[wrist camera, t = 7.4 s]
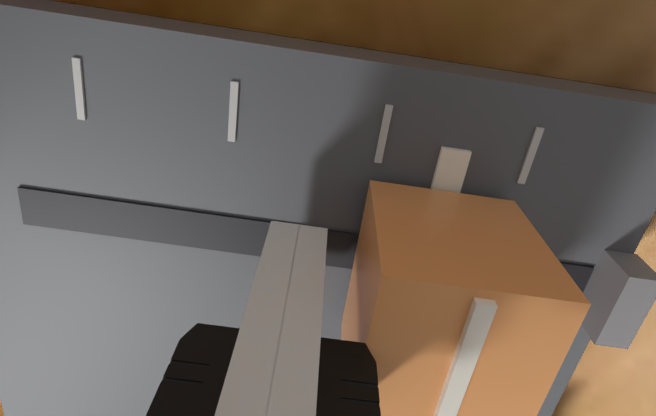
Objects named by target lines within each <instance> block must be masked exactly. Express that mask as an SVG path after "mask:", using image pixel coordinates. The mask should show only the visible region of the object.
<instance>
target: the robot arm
mask: <svg viewBox="0 0 656 416" xmlns="http://www.w3.org/2000/svg"><path fill="white" fill-rule="evenodd" d="M327 232H328V228H322V227H314V226H307V225H300V224H292V223H285V222H278V221H271V223H270V226H269V230H268V233H267V237H266V240H265V244H264V247H263V250H262V254H261V257H260V261H259V264H258V268H257V271H256V275H255V278H254V281H253V285H252V288H251V292H250V295H249V299H248V302H247V306H246V309H245V312H244V316H243V319H242V323H241V326H240V328H233V327H225V326H218V325H210V324H202V323H197V324H196V325H195V326H194V327H193V328H191V329H190V330H189V331H188V332H187V333H186V334H185V335H184V336H183V337H182V338H180V340H179V342H178V344H177V347H176V349H175V351H174V353H173V356H172V358H171V361H170V364H169V365H168V367H167V369H166V371H165V374H164V376H163V380H162V381H161V383H160V385H159V387H158V389H157V392H156V394H155V396H154V398H153V401H152V403H151V405H150V407H149V410H148V412H147V414H146V416H381V411H380V407H379V403H380V399H379V388H378V375H377V363H376V361H375V359H374V357H373V356H372V354H371V352H370V350H369V349H368V347H367V345H366V343H362V342H354V341H346V340H338V339H331V338H323V337H321V326H322V311H323V295H324V279H325V263H326V248H327Z"/></svg>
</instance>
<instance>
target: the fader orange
mask: <svg viewBox="0 0 656 416" xmlns="http://www.w3.org/2000/svg"><path fill="white" fill-rule="evenodd" d="M590 306H591V303H590V302H589V301H588V299H587V298H586V297H585V295H584V294H583V293H582V291H581V290H580V288H579V287H578V286H577V284H576V283H575V282H574V280H573V279H572V278H571V276H570V275H569V274H568V272H567V271H566V270H565V268H564V267H563V266H562V264H561V263H560V261H559V260H558V259H557V257H556V256H555V255H554V253H553V252H552V251H551V249H550V248H549V247H548V245H547V244H546V243H545V241H544V240H543V239H542V237H541V236H540V234H539V233H538V232H537V230H536V229H535V228H534V226H533V225H532V224H531V222H530V221H529V220H528V218H527V217H526V216H525V214H524V213H523V212H522V210H521V209H520V207H519V206H518V205H517V203H516V202H515V201H512V200H505V199H498V198H491V197H484V196H477V195H470V194H463V193H456V192H449V191H442V190H435V189H428V188H421V187H414V186H408V185H401V184H394V183H387V182H380V181H373V180H370V183H369V188H368V193H367V198H366V203H365V208H364V213H363V218H362V223H361V228H360V233H359V238H358V243H357V248H356V253H355V258H354V263H353V268H352V273H351V278H350V283H349V288H348V293H347V298H346V303H345V308H344V313H343V319H342V324H341V340H346V341H354V342H362V343H366V345H367V347H368V349H369V350H370V352H371V354H372V356H373V357H374V359H375V361H376V363H377V375H378V388H379V399H380V403H379V407H380V411H381V416H537V414H538V412H539V410H540V408H541V406H542V404H543V402H544V400H545V398H546V396H547V394H548V392H549V390H550V388H551V386H552V384H553V382H554V380H555V377H556V375H557V373H558V371H559V369H560V367H561V365H562V363H563V361H564V359H565V357H566V355H567V353H568V351H569V349H570V347H571V345H572V343H573V341H574V339H575V336H576V334H577V332H578V330H579V328H580V326H581V324H582V322H583V320H584V318H585V316H586V314H587V312H588V310H589V308H590Z"/></svg>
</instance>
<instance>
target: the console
mask: <svg viewBox="0 0 656 416" xmlns="http://www.w3.org/2000/svg"><path fill="white" fill-rule="evenodd" d="M370 180H373V181H380V182H387V183H394V184H401V185H408V186H414V187H421V188H428V189H435V190H442V191H449V192H456V193H463V194H470V195H477V196H484V197H491V198H498V199H505V200H512V201H515V202H516V203H517V205H518V206H519V207H520V209H521V210H522V212H523V213H524V214H525V216H526V217H527V218H528V220H529V221H530V222H531V224H532V225H533V226H534V228H535V229H536V230H537V232H538V233H539V234H540V236H541V237H542V239H543V240H544V241H545V243H546V244H547V245H548V247H549V248H550V249H551V251H552V252H553V253H554V255H555V256H556V257H557V259H558V260H559V261H560V263H561V264H562V266H563V267H564V268H565V270H566V271H567V272H568V274H569V275H570V276H571V278H572V279H573V280H574V282H575V283H576V284H577V286H578V287H579V288H580V290H581V291H582V293H583V294H584V295H585V297H586V298H587V299H588V301H589V302H590V303H591V306H590V308H589V310H588V312H587V314H586V316H585V318H584V320H583V322H582V324H581V326H580V328H579V330H578V332H577V334H576V336H575V339H574V341H573V343H572V345H571V347H570V349H569V351H568V353H567V355H566V357H565V359H564V361H563V363H562V365H561V367H560V369H559V371H558V373H557V375H556V377H555V380H554V382H553V384H552V386H551V388H550V390H549V392H548V394H547V396H546V398H545V400H544V402H543V404H542V406H541V408H540V410H539V412H538V414H537V416H552V414H553V412H554V410H555V408H556V406H557V404H558V402H559V400H560V398H561V396H562V394H563V392H564V390H565V388H566V386H567V384H568V382H569V380H570V378H571V376H572V374H573V372H574V370H575V368H576V366H577V364H578V362H579V360H580V358H581V356H582V355H583V353H584V351H585V349H586V347H587V345H588V343H589V341H590V339H591V340H592V341H593V343H594V344H595V345H601V346H609V347H616V348H624V349H628V348H629V346H630V344H631V343H632V341H633V339H634V337H635V335H636V334H637V332H638V330H639V328H640V326H641V325H642V323H643V321H644V319H645V318H646V316H647V314H648V312H649V310H650V309H651V307H652V305H653V303H654V301H655V300H656V272H654V271H653V270H652V269H651V268H650V267H649V266H648V265H647V264H646V263H645V262H644V261H643V260H642V259H641V258H640V257H639V256H638V255H637V254H634V252H635V250H636V248H637V246H638V244H639V242H640V240H641V238H642V236H643V234H644V232H645V230H646V228H647V226H648V224H649V222H650V220H651V219H652V217H653V215H654V213H655V211H656V94H655V93H648V92H642V91H635V90H629V89H622V88H616V87H609V86H603V85H596V84H590V83H583V82H577V81H571V80H564V79H558V78H551V77H545V76H538V75H532V74H525V73H519V72H512V71H506V70H499V69H493V68H486V67H480V66H473V65H467V64H460V63H454V62H447V61H441V60H434V59H428V58H421V57H415V56H408V55H402V54H395V53H389V52H382V51H376V50H369V49H363V48H356V47H350V46H343V45H337V44H330V43H324V42H317V41H311V40H304V39H298V38H292V37H285V36H279V35H272V34H266V33H259V32H253V31H246V30H240V29H233V28H227V27H220V26H214V25H207V24H201V23H194V22H188V21H181V20H175V19H168V18H162V17H155V16H149V15H142V14H136V13H129V12H123V11H116V10H110V9H103V8H97V7H90V6H84V5H77V4H71V3H64V2H58V1H51V0H0V400H1V404H2V409H3V413H4V416H146V414H147V412H148V410H149V407H150V405H151V403H152V401H153V398H154V396H155V394H156V392H157V389H158V387H159V385H160V383H161V381H162V380H163V376H164V374H165V371H166V369H167V367H168V365H169V364H170V361H171V358H172V356H173V353H174V351H175V349H176V347H177V344H178V342H179V340H180V338H182V337H183V336H184V335H185V334H186V333H187V332H188V331H189V330H190V329H191V328H193V327H194V326H195V325H196V324H197V323H202V324H210V325H218V326H225V327H233V328H240V326H241V323H242V319H243V316H244V312H245V309H246V306H247V302H248V299H249V295H250V292H251V288H252V285H253V281H254V278H255V275H256V271H257V268H258V264H259V261H260V257H261V254H262V250H263V247H264V244H265V240H266V237H267V233H268V230H269V226H270V223H271V221H278V222H285V223H292V224H300V225H307V226H314V227H322V228H328V232H327V248H326V263H325V279H324V295H323V311H322V326H321V337H323V338H331V339H338V340H341V324H342V319H343V313H344V308H345V303H346V298H347V293H348V288H349V283H350V278H351V273H352V268H353V263H354V258H355V253H356V248H357V243H358V238H359V233H360V228H361V223H362V218H363V213H364V208H365V203H366V198H367V193H368V188H369V183H370Z"/></svg>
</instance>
